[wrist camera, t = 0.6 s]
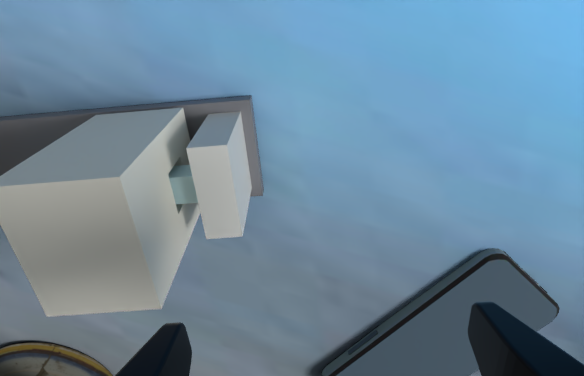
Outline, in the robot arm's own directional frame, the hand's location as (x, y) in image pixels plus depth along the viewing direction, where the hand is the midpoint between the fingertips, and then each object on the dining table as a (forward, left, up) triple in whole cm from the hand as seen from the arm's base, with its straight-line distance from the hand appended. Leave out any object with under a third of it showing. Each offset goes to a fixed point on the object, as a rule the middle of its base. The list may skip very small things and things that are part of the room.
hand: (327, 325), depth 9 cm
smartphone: (-15, -8, -13) cm, 21 cm away
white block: (0, +7, -11) cm, 13 cm away
